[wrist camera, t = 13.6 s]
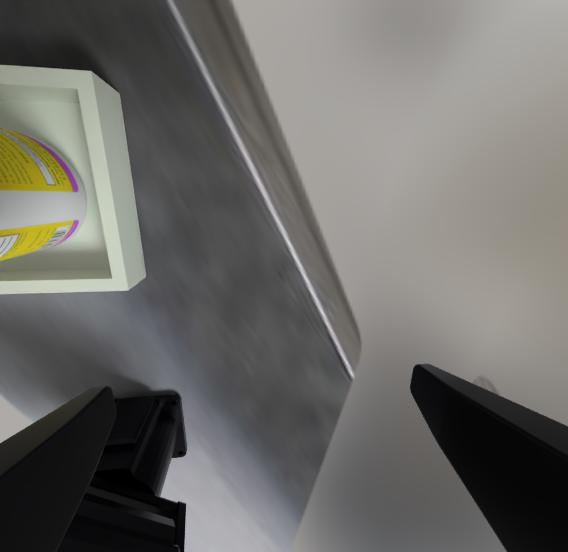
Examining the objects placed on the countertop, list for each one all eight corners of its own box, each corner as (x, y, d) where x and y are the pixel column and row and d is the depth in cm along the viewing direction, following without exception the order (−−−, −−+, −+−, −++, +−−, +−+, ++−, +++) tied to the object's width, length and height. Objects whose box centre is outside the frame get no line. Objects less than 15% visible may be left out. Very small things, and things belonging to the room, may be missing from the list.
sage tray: (146, 276, 19) (128, 290, 16) (-35, 280, 18) (-89, 296, 15) (119, 93, 16) (91, 70, 13) (-107, 80, 14) (-195, 51, 11)
